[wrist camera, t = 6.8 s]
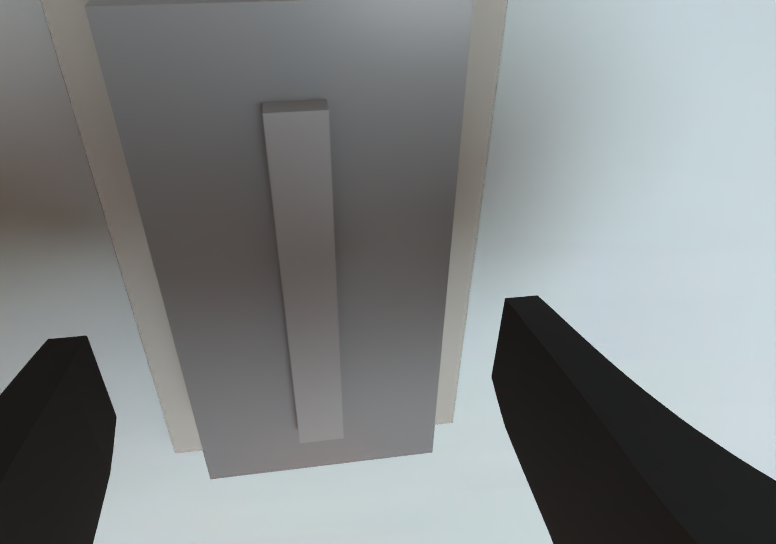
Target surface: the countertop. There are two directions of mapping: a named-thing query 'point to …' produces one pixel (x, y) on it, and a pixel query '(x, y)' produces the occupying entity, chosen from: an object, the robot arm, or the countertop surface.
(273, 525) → the countertop surface
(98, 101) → the mat
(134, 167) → the lid
